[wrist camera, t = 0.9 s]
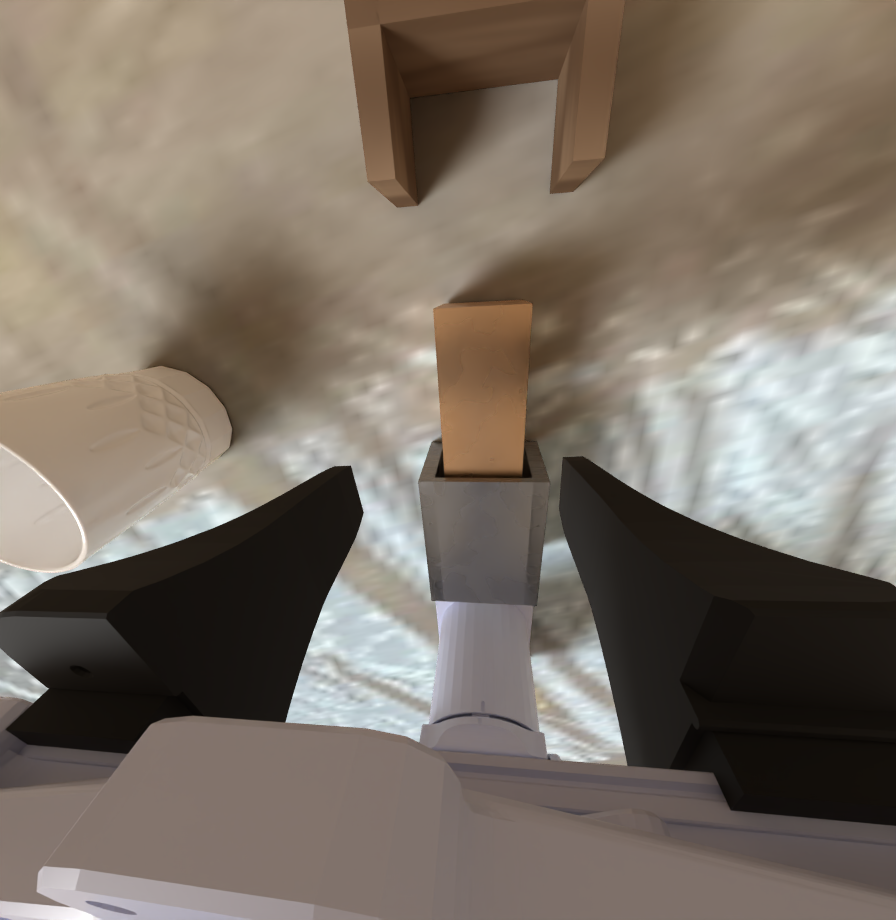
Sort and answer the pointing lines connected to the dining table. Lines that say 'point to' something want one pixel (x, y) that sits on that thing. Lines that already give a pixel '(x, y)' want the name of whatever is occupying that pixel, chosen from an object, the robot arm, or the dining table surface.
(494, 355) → the tan wooden bar
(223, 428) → the white cup
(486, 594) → the sleeve
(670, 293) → the dining table surface
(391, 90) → the socket
